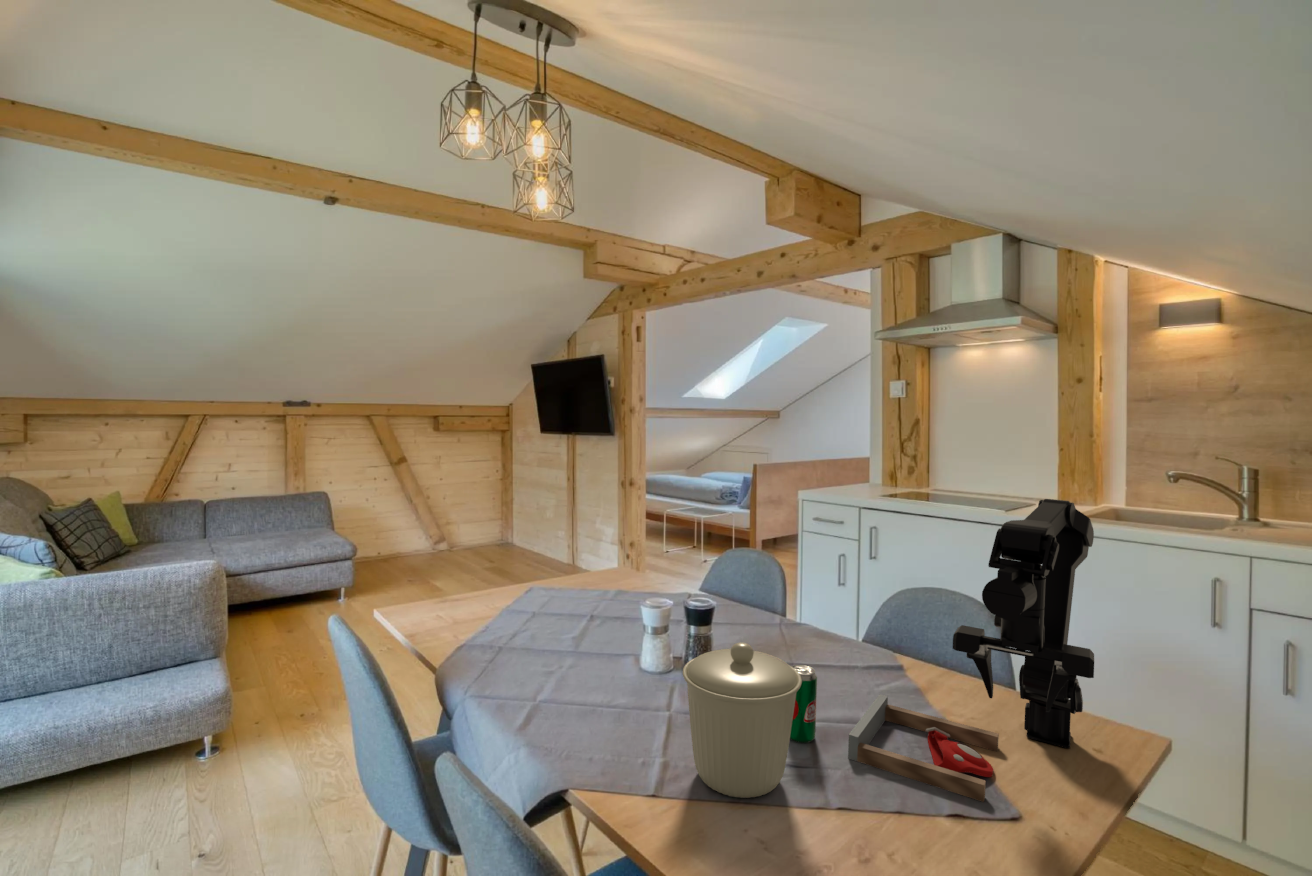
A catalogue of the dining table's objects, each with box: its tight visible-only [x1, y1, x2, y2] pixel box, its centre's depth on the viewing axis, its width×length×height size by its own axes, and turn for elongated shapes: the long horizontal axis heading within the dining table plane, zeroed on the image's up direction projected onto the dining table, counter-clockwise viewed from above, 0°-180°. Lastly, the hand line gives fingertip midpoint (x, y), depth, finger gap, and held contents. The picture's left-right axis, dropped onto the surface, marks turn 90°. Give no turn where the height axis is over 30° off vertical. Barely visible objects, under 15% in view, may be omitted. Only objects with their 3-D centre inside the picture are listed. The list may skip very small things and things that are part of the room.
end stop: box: [847, 694, 889, 762], centre depth 111 cm, size 2×19×4 cm, turn 146°
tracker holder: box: [926, 727, 995, 778], centre depth 103 cm, size 12×4×10 cm
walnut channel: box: [856, 704, 1000, 803], centre depth 106 cm, size 18×19×2 cm
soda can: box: [790, 664, 818, 744], centre depth 110 cm, size 5×5×12 cm
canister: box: [682, 641, 802, 799], centre depth 97 cm, size 18×18×21 cm
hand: (1018, 703), depth 98 cm, fingers open, 7 cm apart
